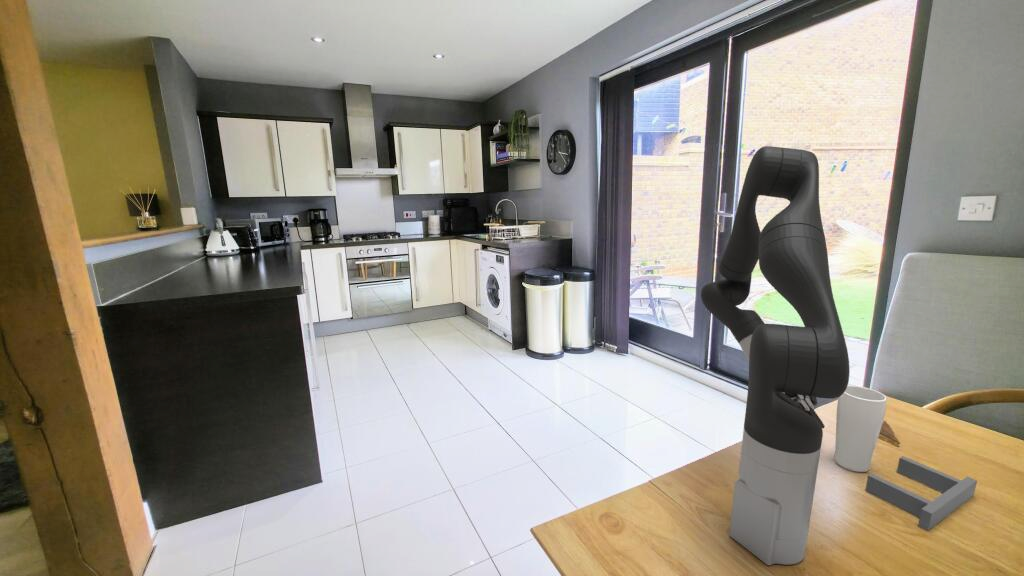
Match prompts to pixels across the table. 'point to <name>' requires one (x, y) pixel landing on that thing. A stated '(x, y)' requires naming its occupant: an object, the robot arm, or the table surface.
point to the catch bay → (925, 509)
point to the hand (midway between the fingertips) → (819, 429)
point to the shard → (888, 434)
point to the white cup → (858, 427)
